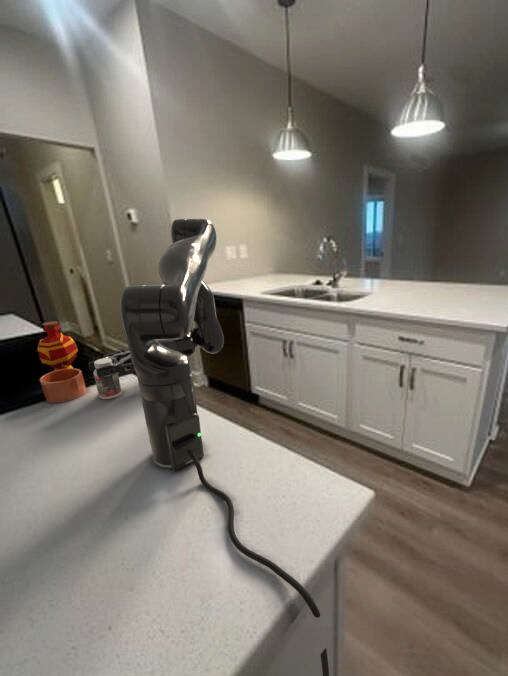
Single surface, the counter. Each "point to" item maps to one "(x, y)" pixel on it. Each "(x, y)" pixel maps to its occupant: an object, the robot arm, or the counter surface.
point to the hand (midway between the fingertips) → (93, 370)
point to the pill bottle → (107, 381)
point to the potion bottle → (56, 348)
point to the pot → (63, 385)
